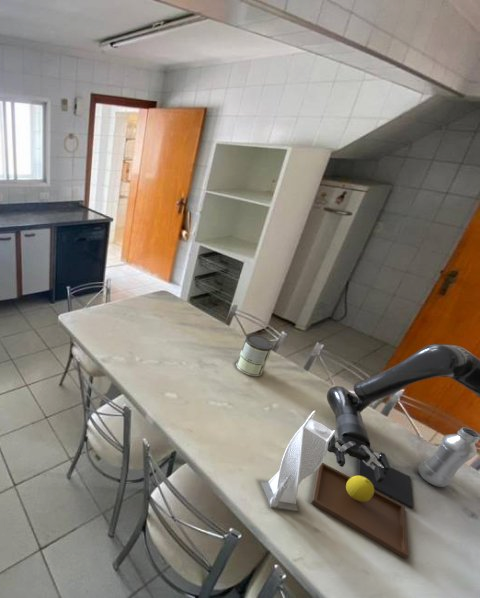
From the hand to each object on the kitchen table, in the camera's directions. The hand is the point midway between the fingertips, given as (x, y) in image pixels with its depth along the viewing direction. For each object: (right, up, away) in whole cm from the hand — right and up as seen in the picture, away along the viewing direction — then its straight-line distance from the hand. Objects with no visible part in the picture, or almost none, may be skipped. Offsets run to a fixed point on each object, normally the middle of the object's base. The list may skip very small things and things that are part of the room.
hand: (361, 472), depth 91 cm
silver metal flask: (+27, -6, +7) cm, 28 cm away
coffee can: (-6, +18, +49) cm, 52 cm away
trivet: (+12, -5, +6) cm, 14 cm away
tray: (-3, -8, -2) cm, 9 cm away
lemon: (-2, -7, 0) cm, 7 cm away
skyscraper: (-23, -6, -1) cm, 24 cm away
